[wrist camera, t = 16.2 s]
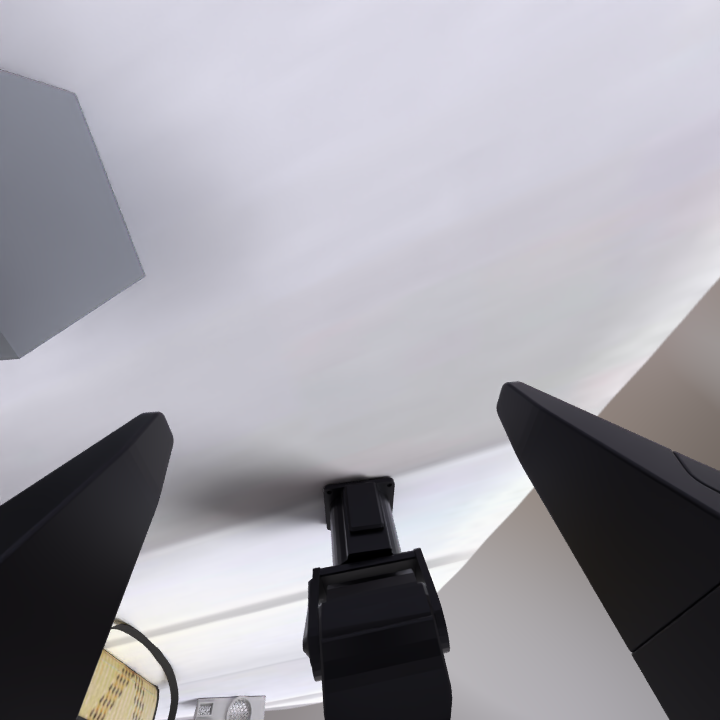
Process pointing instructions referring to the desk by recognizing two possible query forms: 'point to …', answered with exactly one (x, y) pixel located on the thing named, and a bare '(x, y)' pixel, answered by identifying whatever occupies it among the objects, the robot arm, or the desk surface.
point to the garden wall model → (223, 705)
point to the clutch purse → (126, 688)
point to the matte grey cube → (54, 218)
